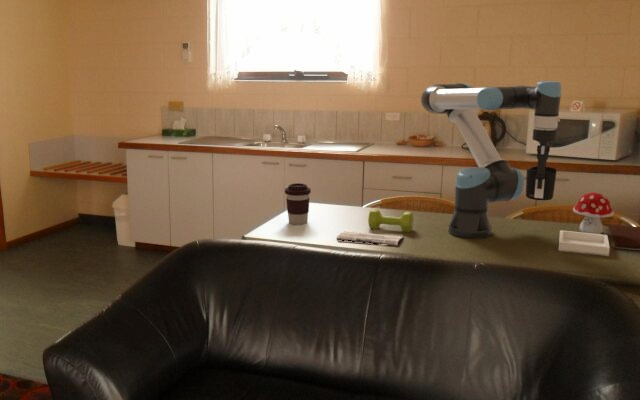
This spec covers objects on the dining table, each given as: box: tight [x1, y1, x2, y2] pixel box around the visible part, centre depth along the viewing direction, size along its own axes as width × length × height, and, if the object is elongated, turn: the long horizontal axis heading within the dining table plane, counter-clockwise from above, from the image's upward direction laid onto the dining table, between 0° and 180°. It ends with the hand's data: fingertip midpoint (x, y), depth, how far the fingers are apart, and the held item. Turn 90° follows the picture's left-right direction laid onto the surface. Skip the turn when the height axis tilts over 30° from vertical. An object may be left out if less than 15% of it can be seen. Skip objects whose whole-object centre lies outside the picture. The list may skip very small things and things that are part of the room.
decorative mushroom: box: [572, 192, 615, 234], centre depth 212 cm, size 14×14×15 cm
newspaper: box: [335, 230, 404, 246], centre depth 207 cm, size 23×12×2 cm, turn 70°
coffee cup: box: [284, 182, 312, 225], centre depth 227 cm, size 10×10×15 cm
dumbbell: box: [367, 208, 414, 233], centre depth 218 cm, size 16×8×7 cm, turn 70°
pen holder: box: [525, 166, 557, 201], centre depth 199 cm, size 9×9×10 cm
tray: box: [558, 229, 611, 257], centre depth 198 cm, size 15×15×3 cm
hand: (539, 194), depth 200 cm, fingers closed on pen holder, 9 cm apart
